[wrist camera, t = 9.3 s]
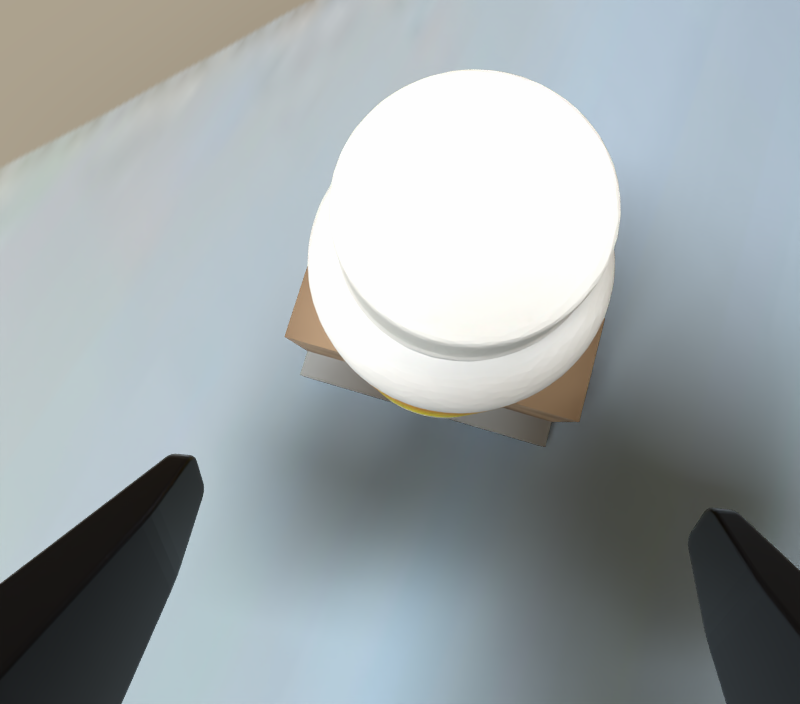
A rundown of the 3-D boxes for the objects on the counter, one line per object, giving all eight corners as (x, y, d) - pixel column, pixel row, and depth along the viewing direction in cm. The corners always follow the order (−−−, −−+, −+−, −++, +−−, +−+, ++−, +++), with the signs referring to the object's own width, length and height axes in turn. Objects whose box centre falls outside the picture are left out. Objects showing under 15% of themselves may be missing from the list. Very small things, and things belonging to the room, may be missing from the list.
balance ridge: (572, 317, 21) (612, 289, 17) (539, 445, 21) (571, 452, 16) (344, 254, 22) (324, 212, 18) (305, 376, 21) (275, 365, 17)
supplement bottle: (509, 434, 16) (653, 455, 6) (341, 398, 17) (218, 362, 7) (540, 268, 17) (714, 46, 7) (378, 237, 17) (318, -17, 7)
